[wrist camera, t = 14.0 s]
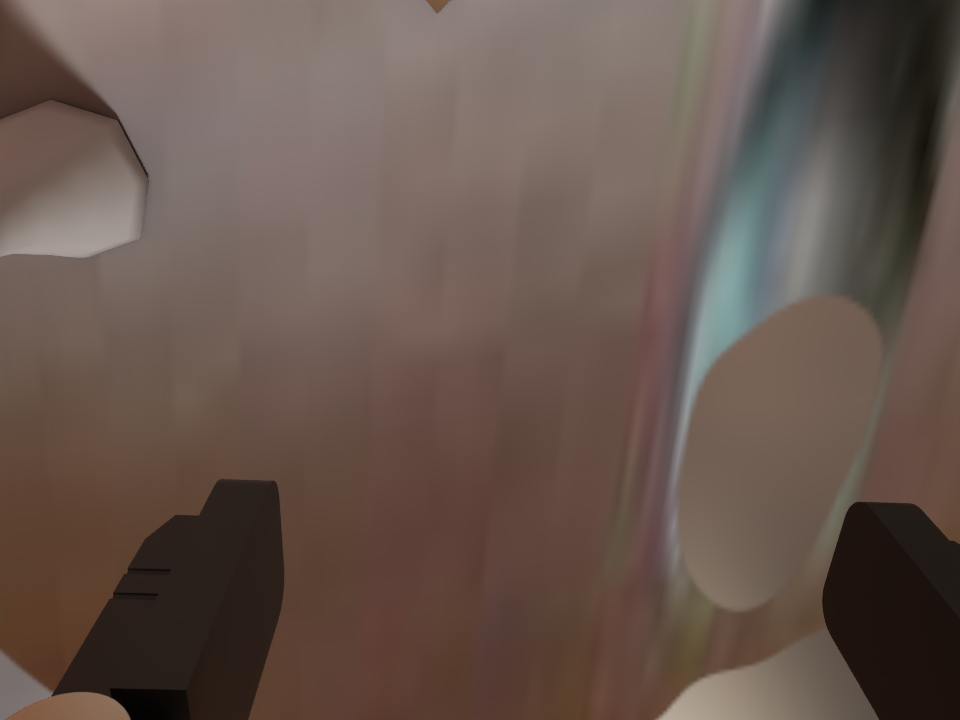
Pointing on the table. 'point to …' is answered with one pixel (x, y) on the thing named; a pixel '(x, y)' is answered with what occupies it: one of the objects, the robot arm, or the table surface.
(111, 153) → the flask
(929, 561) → the robot arm
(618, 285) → the table surface
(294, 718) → the table surface
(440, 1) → the post stand
